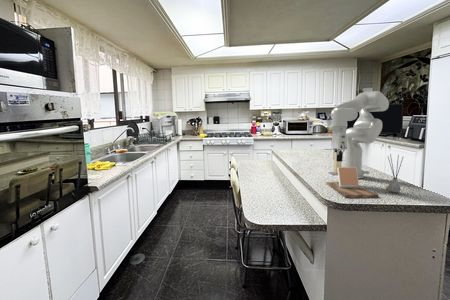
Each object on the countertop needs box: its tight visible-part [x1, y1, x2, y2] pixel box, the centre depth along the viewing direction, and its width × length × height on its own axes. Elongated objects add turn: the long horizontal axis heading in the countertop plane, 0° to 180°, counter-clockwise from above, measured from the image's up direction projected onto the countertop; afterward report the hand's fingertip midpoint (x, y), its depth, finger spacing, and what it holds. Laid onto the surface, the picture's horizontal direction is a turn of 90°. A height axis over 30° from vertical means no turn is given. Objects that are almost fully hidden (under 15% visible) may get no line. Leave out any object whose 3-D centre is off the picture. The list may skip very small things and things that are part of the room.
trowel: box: [327, 151, 342, 176], centre depth 138 cm, size 8×6×13 cm
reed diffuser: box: [385, 153, 404, 193], centre depth 120 cm, size 10×7×20 cm
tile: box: [337, 166, 360, 188], centre depth 126 cm, size 10×11×1 cm
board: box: [324, 181, 380, 199], centre depth 125 cm, size 16×24×2 cm, turn 179°
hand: (337, 160), depth 137 cm, fingers closed on trowel, 3 cm apart
